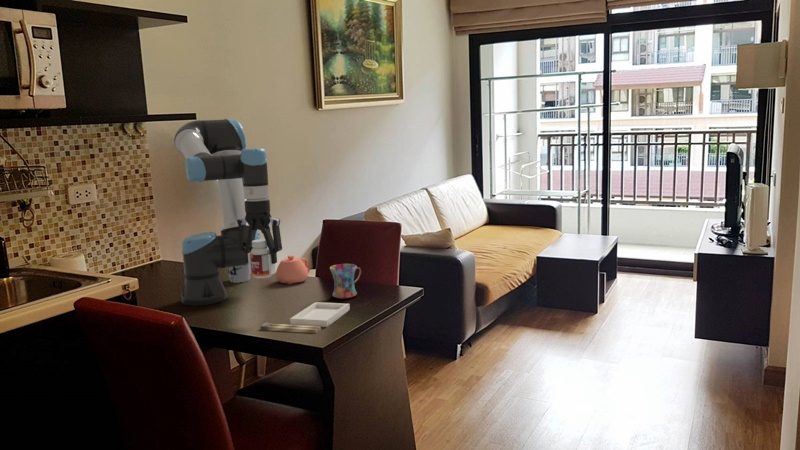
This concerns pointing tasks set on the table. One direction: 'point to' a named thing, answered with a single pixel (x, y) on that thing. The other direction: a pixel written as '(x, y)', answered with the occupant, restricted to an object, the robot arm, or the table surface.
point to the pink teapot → (292, 270)
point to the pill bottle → (260, 259)
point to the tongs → (290, 328)
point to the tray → (320, 314)
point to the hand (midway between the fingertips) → (262, 273)
